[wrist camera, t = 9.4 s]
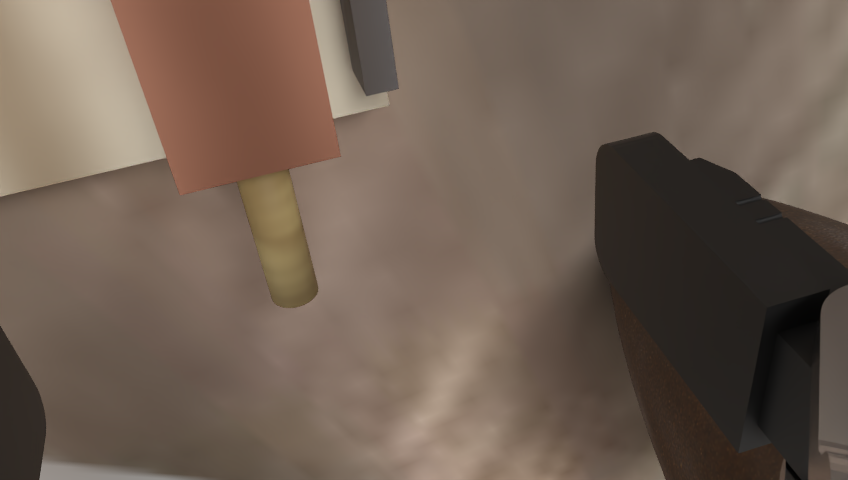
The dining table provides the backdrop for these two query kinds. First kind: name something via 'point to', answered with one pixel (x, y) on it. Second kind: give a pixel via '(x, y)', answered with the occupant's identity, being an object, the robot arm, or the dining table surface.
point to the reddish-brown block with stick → (239, 112)
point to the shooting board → (137, 85)
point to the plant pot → (680, 409)
